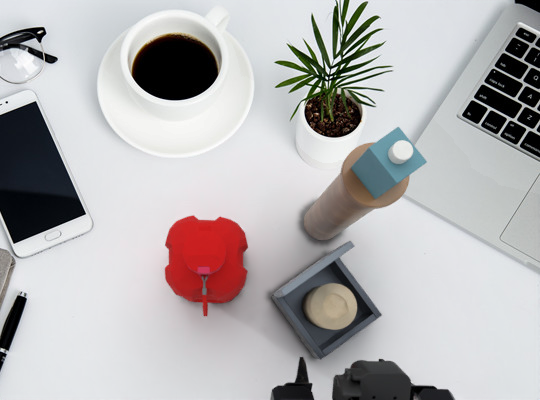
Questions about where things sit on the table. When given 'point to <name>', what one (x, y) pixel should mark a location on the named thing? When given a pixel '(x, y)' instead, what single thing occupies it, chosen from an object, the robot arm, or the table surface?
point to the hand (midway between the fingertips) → (340, 360)
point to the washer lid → (313, 269)
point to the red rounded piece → (206, 260)
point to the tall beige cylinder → (347, 200)
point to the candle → (330, 306)
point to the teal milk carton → (387, 162)
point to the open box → (321, 338)
